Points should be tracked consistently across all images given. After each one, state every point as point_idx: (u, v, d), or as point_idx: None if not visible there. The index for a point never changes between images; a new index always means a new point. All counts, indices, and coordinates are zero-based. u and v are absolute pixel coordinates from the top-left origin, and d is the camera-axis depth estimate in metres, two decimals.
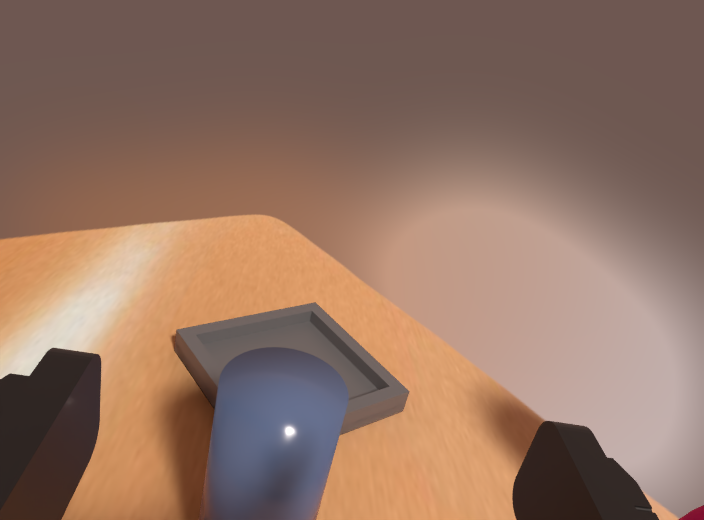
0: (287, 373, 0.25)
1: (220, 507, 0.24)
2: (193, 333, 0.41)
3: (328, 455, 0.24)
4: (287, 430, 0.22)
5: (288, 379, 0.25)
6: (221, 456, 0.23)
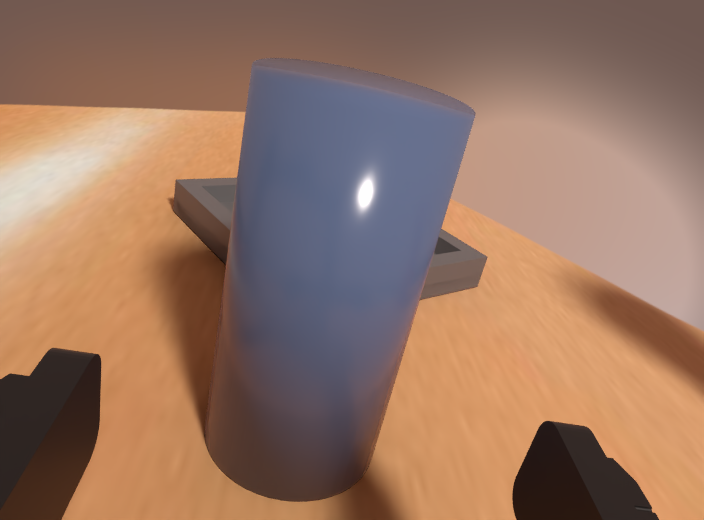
0: (364, 80, 0.15)
1: (254, 299, 0.14)
2: (198, 184, 0.31)
3: (443, 201, 0.14)
4: (384, 111, 0.12)
5: (368, 83, 0.14)
6: (257, 196, 0.13)
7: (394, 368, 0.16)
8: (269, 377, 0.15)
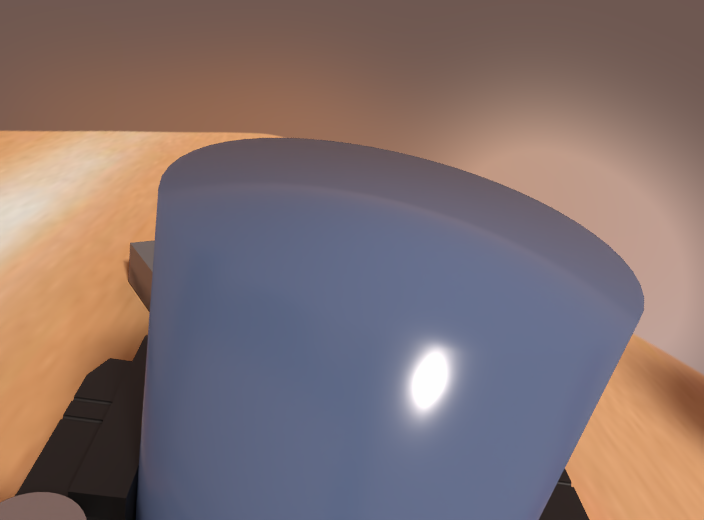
0: (397, 188, 0.08)
1: None
2: None
3: None
4: (468, 337, 0.05)
5: (408, 200, 0.07)
6: (169, 468, 0.06)
7: None
8: None
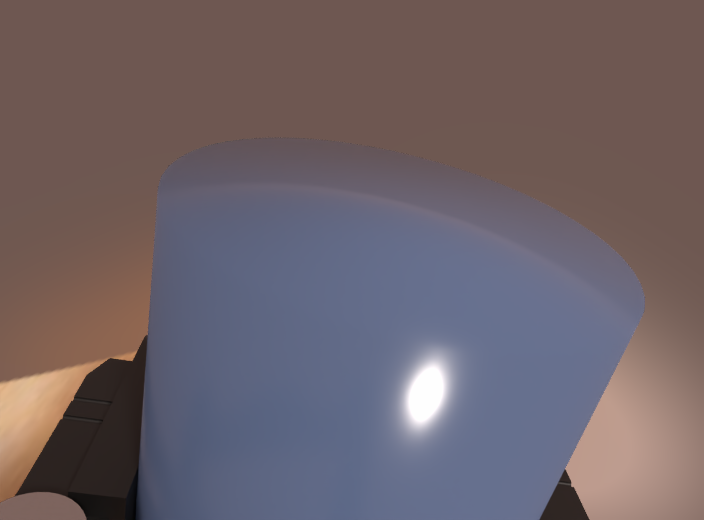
0: (398, 188, 0.08)
1: None
2: None
3: None
4: (468, 338, 0.05)
5: (409, 199, 0.07)
6: (169, 468, 0.06)
7: None
8: None
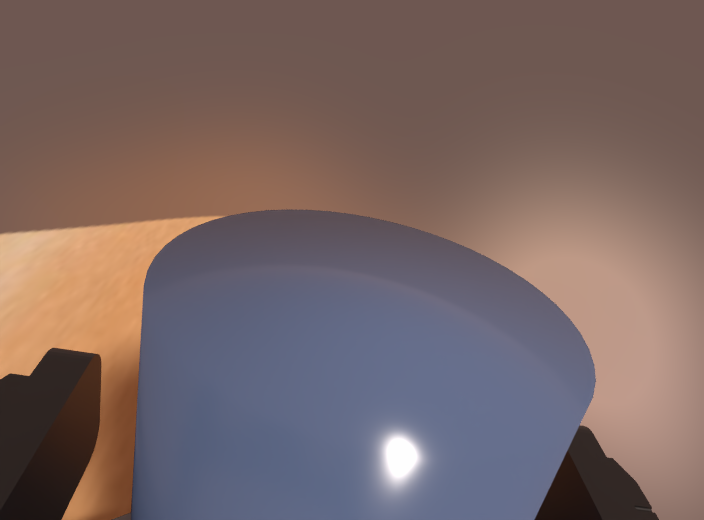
0: (371, 265, 0.08)
1: None
2: None
3: None
4: (421, 441, 0.05)
5: (380, 278, 0.08)
6: None
7: None
8: None
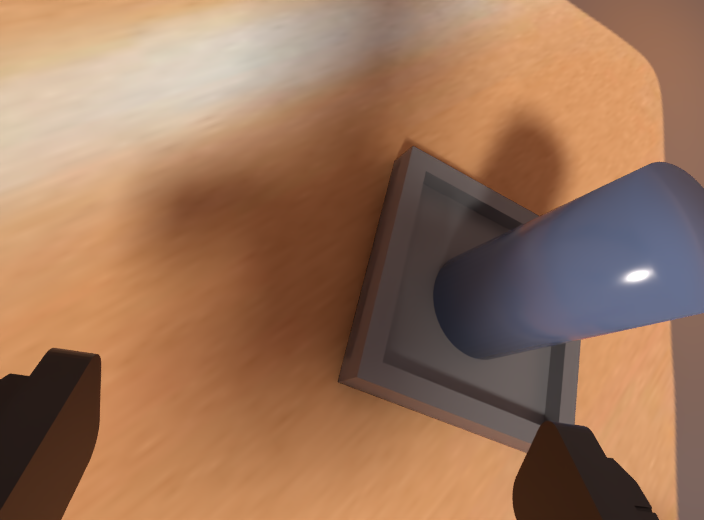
0: (695, 223, 0.20)
1: (520, 264, 0.23)
2: (425, 167, 0.29)
3: (652, 323, 0.21)
4: (661, 276, 0.19)
5: (692, 230, 0.20)
6: (569, 233, 0.21)
7: (549, 346, 0.25)
8: (491, 295, 0.24)
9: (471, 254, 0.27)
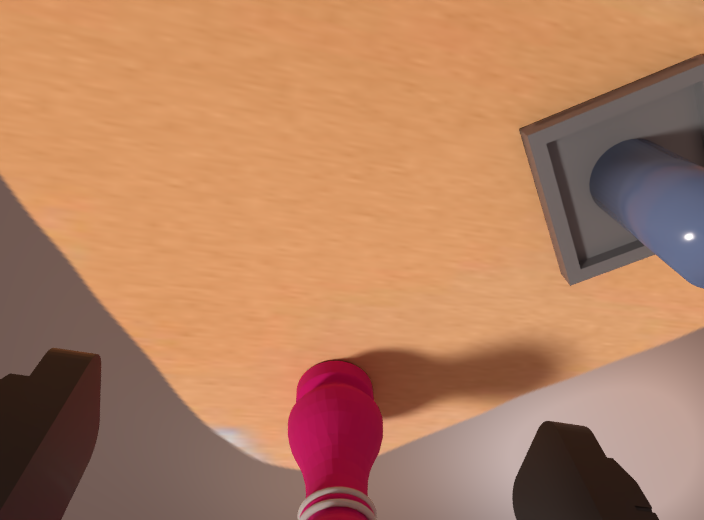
0: None
1: (655, 174, 0.34)
2: None
3: (663, 260, 0.32)
4: (682, 239, 0.30)
5: None
6: (687, 183, 0.31)
7: (623, 227, 0.37)
8: (628, 174, 0.36)
9: (653, 147, 0.36)
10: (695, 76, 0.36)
